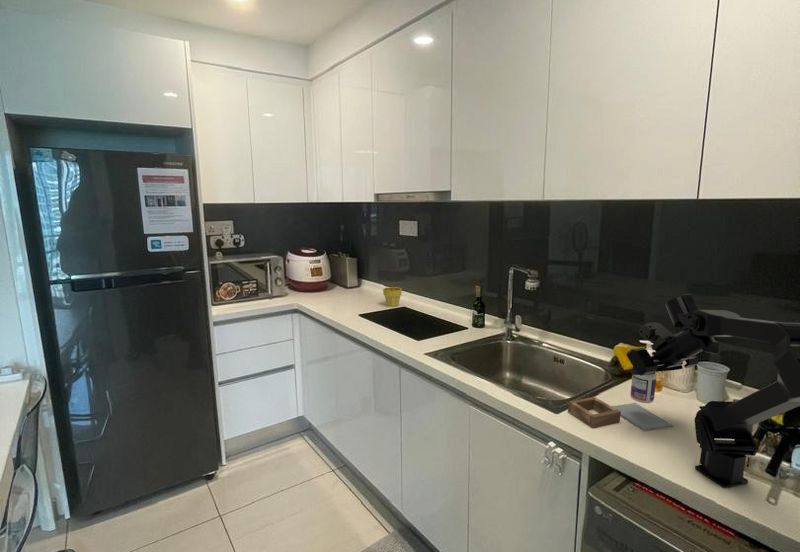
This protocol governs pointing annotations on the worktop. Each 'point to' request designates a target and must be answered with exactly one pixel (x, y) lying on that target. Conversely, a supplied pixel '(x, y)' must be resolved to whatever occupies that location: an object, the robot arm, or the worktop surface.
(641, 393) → the pill bottle
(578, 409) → the walnut socket
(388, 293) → the plant pot
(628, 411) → the grey mat
